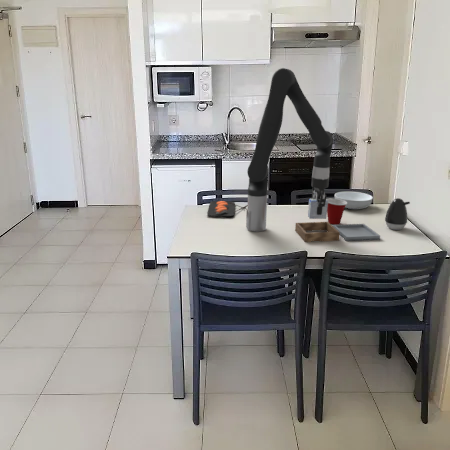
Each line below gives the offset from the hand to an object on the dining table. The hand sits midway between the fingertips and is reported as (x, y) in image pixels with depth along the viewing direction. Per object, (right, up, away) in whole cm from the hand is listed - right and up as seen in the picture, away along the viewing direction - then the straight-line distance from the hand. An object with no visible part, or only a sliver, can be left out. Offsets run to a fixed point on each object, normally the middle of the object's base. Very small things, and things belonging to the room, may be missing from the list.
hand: (317, 212), depth 213 cm
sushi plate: (-37, +2, +43) cm, 56 cm away
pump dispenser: (+41, -8, +14) cm, 44 cm away
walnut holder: (0, -11, +3) cm, 11 cm away
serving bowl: (+30, +4, +51) cm, 59 cm away
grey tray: (+19, -10, +6) cm, 22 cm away
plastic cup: (+13, -5, +21) cm, 26 cm away
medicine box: (0, -2, +1) cm, 3 cm away
